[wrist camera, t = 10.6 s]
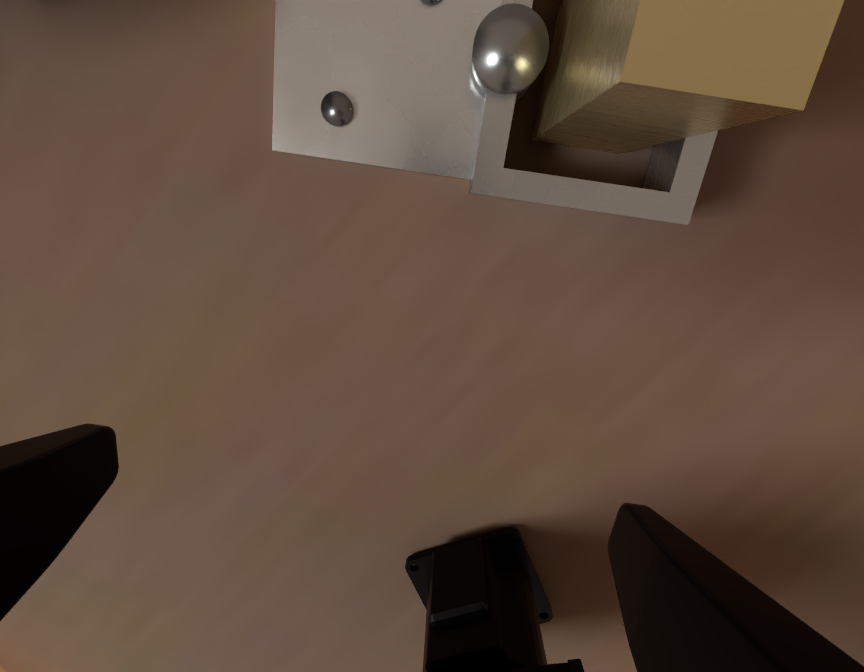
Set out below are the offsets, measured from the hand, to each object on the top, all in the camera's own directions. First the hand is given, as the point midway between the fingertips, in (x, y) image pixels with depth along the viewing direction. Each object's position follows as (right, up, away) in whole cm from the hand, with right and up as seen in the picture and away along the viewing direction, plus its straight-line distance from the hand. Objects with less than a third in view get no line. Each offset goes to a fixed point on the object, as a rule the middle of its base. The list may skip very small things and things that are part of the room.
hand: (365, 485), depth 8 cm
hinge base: (+4, +13, +9) cm, 16 cm away
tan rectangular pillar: (+7, +12, +9) cm, 17 cm away
